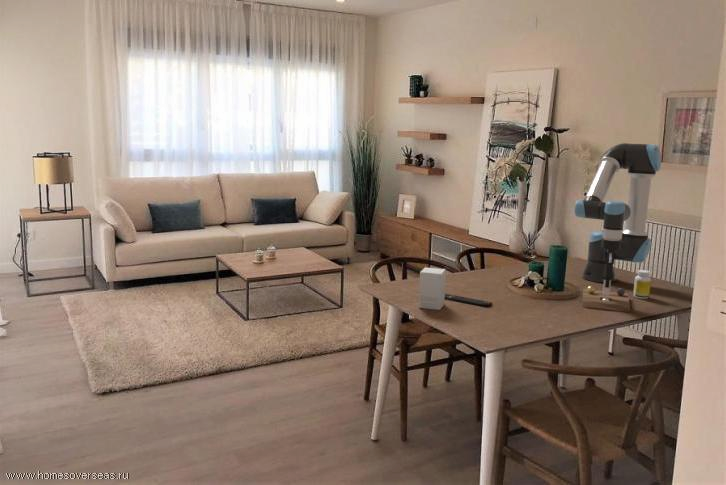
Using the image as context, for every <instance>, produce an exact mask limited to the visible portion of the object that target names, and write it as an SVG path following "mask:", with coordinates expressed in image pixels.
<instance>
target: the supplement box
mask: <svg viewBox="0 0 726 485" xmlns="http://www.w3.org/2000/svg"><path fill="white" fill-rule="evenodd" d="M446 272H447V271H446V268H435V267H425V266H424V268H423V269H422V270H420V272H419V289H418V292H419V294H418V298H419V299H418V308H419V309H426V310H427V309H429V310H438V311H440V310H442V308H443V306H444V305H445V300H446V299H445V294H446V291H445V290H446Z"/></svg>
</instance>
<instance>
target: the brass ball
mask: <svg viewBox="0 0 726 485" xmlns="http://www.w3.org/2000/svg"><path fill="white" fill-rule="evenodd" d="M586 289H587V292H588V293H590V294H592V293H594V292H595V290H596V287H594V286H592V285H589V286H587V287H586Z"/></svg>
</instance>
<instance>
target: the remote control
mask: <svg viewBox="0 0 726 485" xmlns="http://www.w3.org/2000/svg"><path fill="white" fill-rule="evenodd" d="M447 299H448V301H452V300H453V301H454V302H457V301H458V302H457V303H463V304H466V305H467V304H468V305H469V304H470V305H473V306H478V307H483V308H490V307H492V306H493V302H491V301H485V300H482V299H481V300H480V299H477V298H475V299H474V298H471V297H464V296H460V295H456V294H455V295H454V294H450V293H445V300H447ZM453 301H452V302H453Z"/></svg>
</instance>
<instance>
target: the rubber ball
mask: <svg viewBox="0 0 726 485" xmlns="http://www.w3.org/2000/svg"><path fill="white" fill-rule="evenodd" d="M616 292H617V294H618V295H624V293H626V292H625V289H624V288H623V287H619V288H617V290H616Z"/></svg>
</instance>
